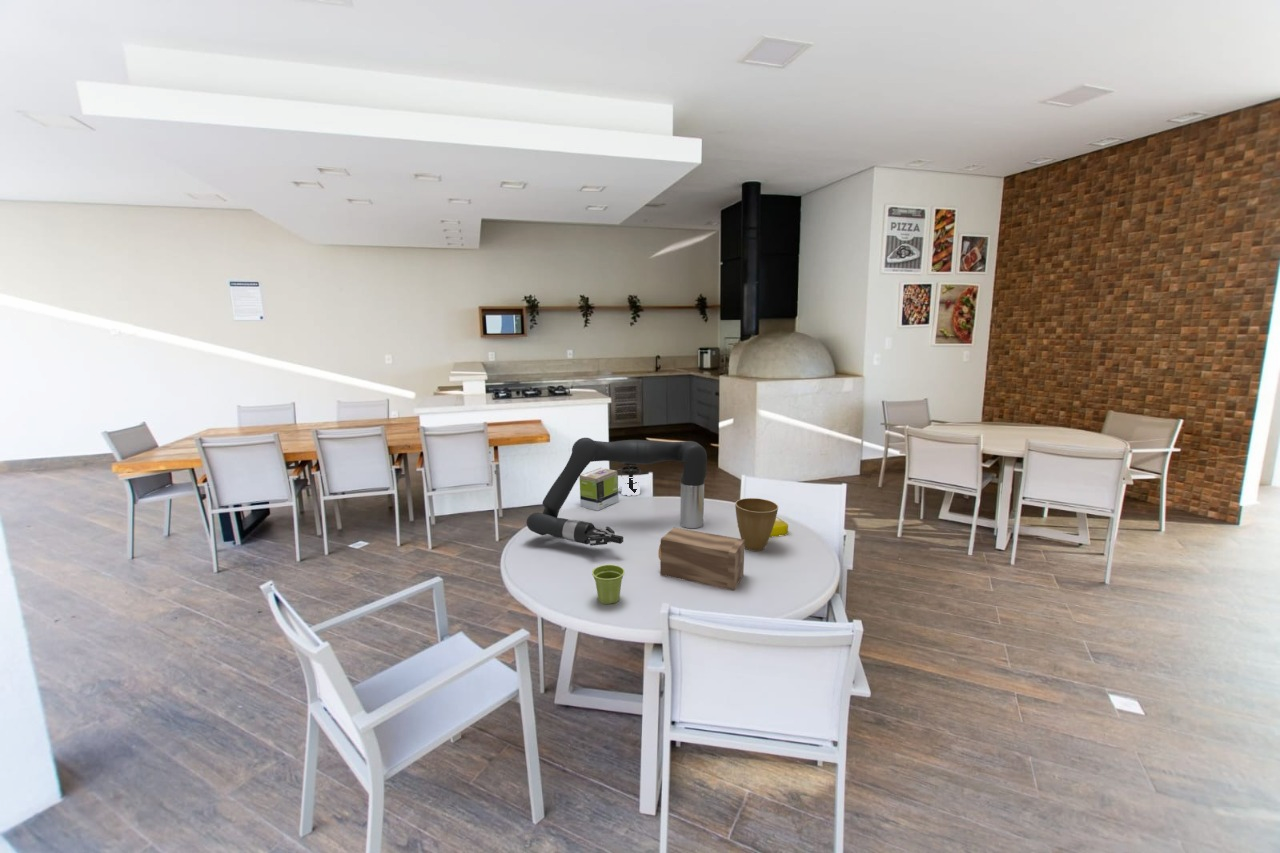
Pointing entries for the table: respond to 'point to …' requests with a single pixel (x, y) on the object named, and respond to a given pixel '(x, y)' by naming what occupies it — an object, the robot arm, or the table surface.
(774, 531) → the element tile
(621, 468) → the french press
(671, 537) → the box
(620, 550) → the table surface
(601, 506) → the tea box
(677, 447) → the robot arm
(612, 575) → the plant pot
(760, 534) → the plant pot
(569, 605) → the table surface
